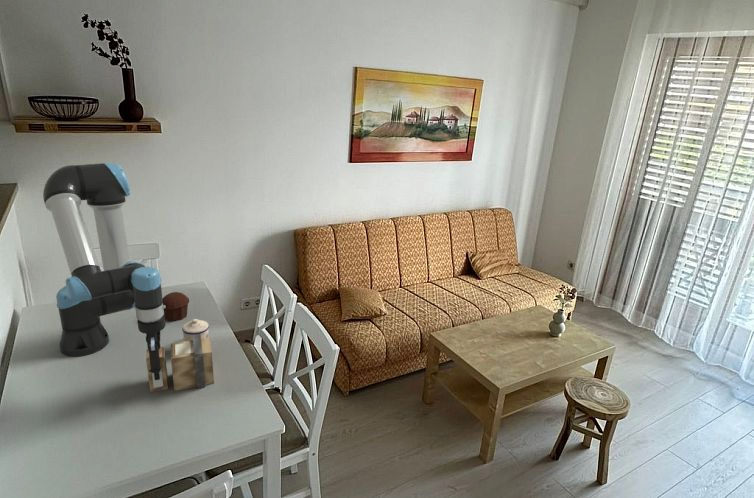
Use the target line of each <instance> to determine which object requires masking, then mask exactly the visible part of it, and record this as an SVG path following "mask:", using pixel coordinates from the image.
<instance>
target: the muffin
mask: <svg viewBox="0 0 754 498" xmlns="http://www.w3.org/2000/svg"><path fill="white" fill-rule="evenodd" d="M162 299H163V305H165V306H166V308H164V316H165V321H167V322H177V321H182V320H184V319H186V318H187V315H188V309H189V308H188V307H189V303H190V299H189V297H188V296H187V295H186V294H185V293H184V292H183V293H182V292H178V291H173V292H169V293H167V294H166V295H164V297H163V296H162Z"/></svg>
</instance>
